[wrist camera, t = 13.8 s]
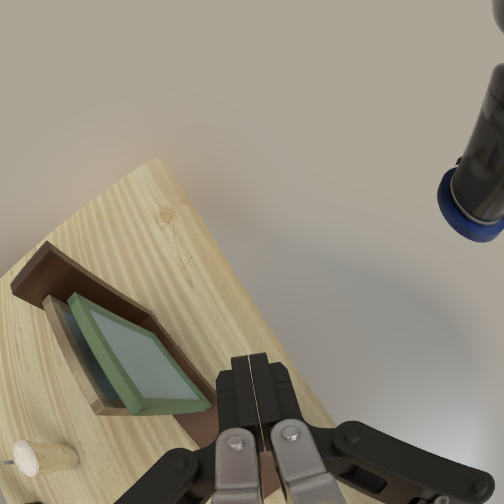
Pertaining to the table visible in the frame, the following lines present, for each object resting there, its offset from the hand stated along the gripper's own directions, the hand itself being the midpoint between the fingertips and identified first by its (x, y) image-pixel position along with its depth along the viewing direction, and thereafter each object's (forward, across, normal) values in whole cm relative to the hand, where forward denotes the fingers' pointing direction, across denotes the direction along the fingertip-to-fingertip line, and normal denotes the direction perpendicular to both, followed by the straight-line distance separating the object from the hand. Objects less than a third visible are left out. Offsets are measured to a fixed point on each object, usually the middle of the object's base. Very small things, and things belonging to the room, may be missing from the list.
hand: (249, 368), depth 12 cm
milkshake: (+7, +25, +23) cm, 35 cm away
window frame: (+10, +6, +15) cm, 19 cm away
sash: (+12, +7, +12) cm, 19 cm away
